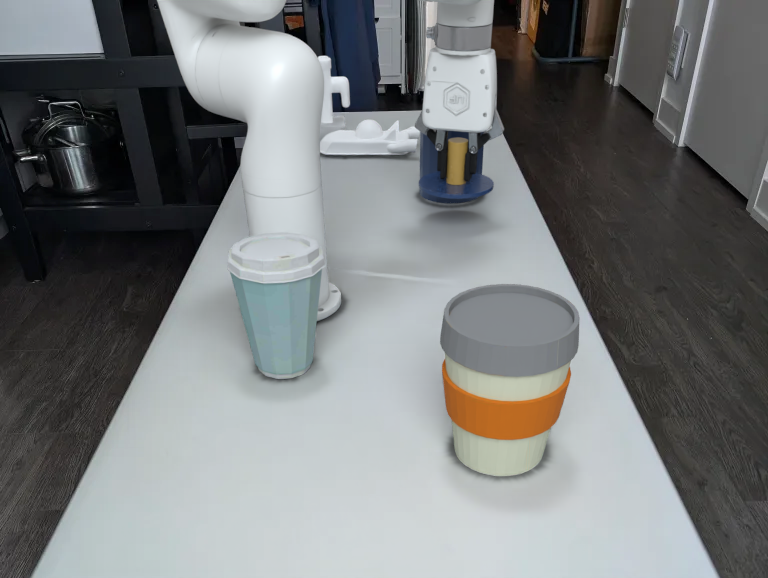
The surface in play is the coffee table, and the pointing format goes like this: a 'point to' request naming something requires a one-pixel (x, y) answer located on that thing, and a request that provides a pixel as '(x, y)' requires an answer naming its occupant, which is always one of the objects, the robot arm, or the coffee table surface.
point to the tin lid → (456, 176)
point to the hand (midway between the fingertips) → (456, 176)
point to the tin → (430, 163)
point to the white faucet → (331, 86)
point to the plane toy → (370, 140)
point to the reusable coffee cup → (506, 373)
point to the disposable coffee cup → (278, 298)
